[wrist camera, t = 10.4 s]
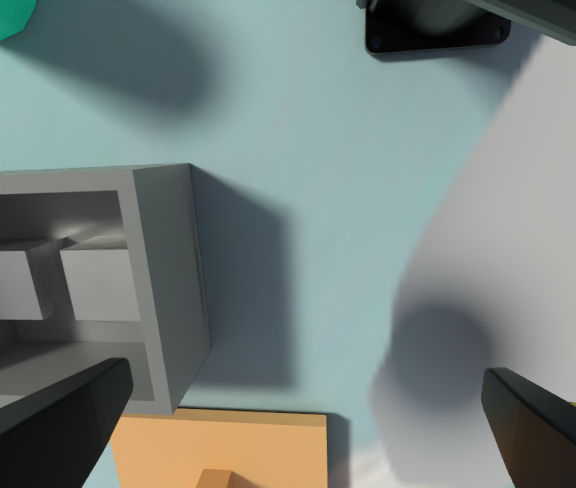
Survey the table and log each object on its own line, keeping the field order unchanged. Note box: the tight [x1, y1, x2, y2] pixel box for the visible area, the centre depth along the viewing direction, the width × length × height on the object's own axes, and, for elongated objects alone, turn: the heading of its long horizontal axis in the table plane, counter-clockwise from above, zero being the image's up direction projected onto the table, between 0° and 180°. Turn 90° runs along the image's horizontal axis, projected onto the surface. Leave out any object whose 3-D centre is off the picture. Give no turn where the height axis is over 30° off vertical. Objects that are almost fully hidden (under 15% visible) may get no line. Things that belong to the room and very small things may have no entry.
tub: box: [0, 163, 212, 415], centre depth 19 cm, size 14×12×6 cm
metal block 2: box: [60, 236, 141, 321], centre depth 19 cm, size 4×4×3 cm
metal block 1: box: [0, 237, 72, 320], centre depth 20 cm, size 4×4×3 cm
